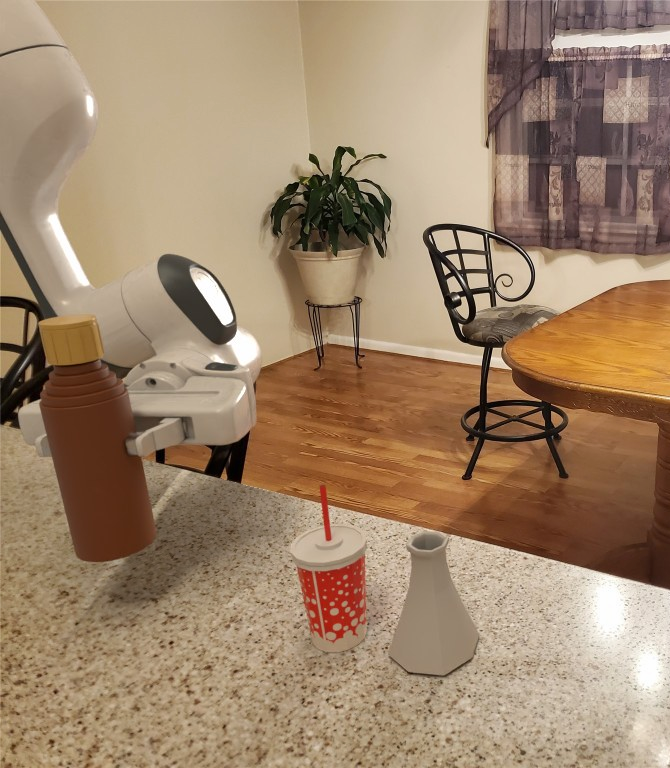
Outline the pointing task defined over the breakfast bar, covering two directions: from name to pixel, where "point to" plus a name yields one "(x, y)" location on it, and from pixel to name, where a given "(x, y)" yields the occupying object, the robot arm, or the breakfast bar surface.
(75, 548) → the bottle
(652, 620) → the breakfast bar surface
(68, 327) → the bottle cap
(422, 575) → the flask
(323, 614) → the beverage cup
